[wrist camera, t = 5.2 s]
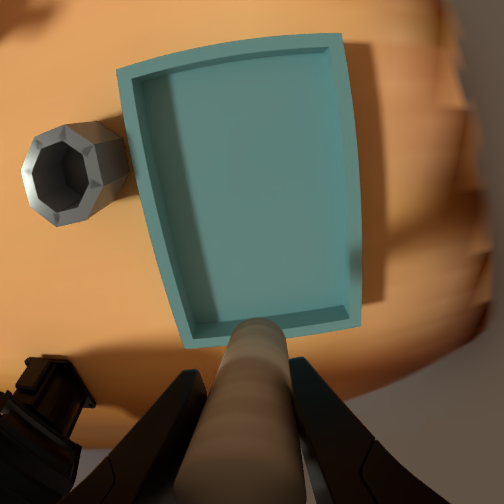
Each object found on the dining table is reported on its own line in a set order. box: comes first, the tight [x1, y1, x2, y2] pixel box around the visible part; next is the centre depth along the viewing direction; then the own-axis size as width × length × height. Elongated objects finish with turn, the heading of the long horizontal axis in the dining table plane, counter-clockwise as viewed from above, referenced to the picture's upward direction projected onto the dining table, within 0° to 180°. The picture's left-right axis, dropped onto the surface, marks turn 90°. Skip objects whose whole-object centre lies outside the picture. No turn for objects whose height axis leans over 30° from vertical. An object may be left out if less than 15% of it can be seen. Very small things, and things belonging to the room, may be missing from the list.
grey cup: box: [21, 121, 130, 227], centre depth 17 cm, size 5×5×4 cm
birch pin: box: [173, 317, 306, 504], centre depth 9 cm, size 5×2×9 cm, turn 9°
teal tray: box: [116, 33, 362, 349], centre depth 18 cm, size 18×12×2 cm, turn 8°
